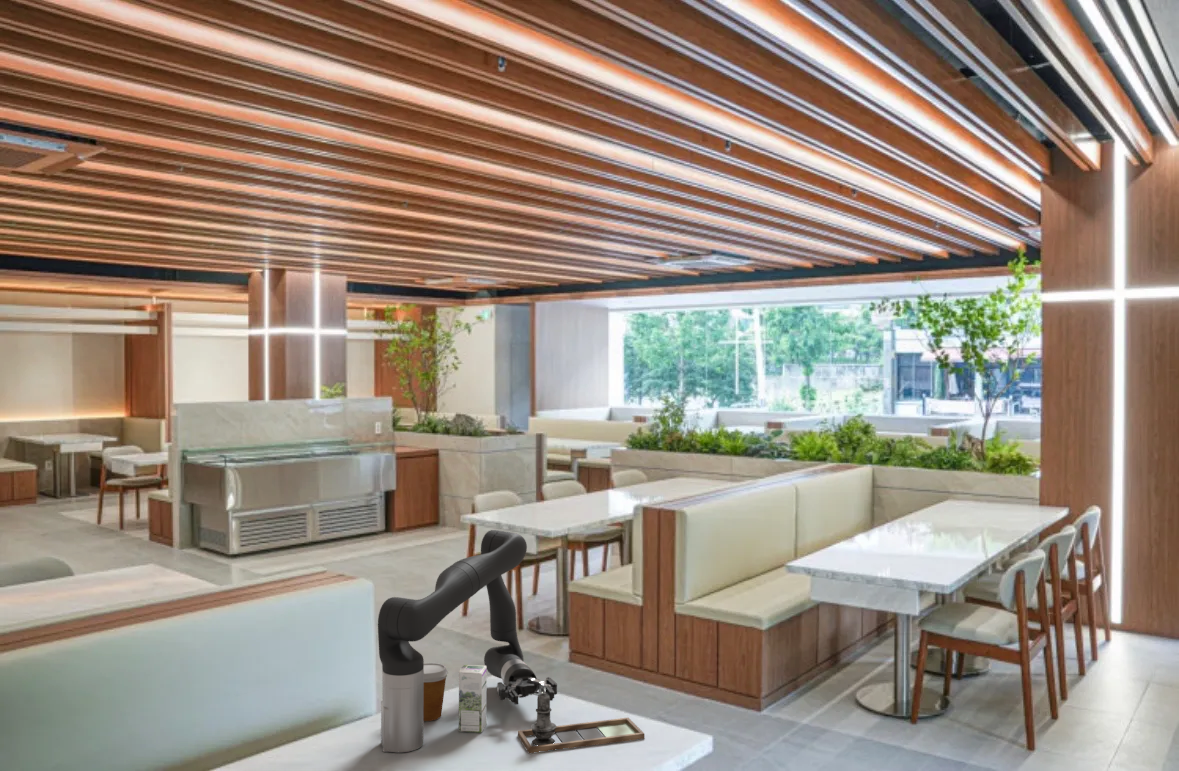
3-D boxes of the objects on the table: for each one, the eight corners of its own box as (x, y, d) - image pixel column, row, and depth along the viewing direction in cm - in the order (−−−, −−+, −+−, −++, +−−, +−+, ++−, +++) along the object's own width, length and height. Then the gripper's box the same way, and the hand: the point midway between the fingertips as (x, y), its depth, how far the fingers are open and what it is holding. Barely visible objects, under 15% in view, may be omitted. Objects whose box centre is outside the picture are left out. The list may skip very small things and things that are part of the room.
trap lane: (528, 753, 199) (529, 748, 199) (517, 735, 209) (517, 730, 209) (644, 738, 207) (644, 733, 207) (628, 722, 217) (628, 717, 217)
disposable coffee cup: (444, 724, 216) (444, 674, 216) (404, 723, 216) (405, 674, 216) (451, 709, 226) (451, 662, 226) (413, 709, 226) (413, 661, 226)
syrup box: (487, 724, 216) (487, 664, 216) (481, 733, 210) (481, 672, 210) (463, 723, 216) (464, 663, 217) (457, 732, 211) (458, 671, 211)
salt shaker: (552, 748, 202) (552, 695, 202) (527, 746, 203) (527, 693, 203) (559, 738, 208) (559, 686, 208) (534, 736, 209) (534, 684, 209)
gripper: (490, 665, 226) (505, 685, 211) (545, 660, 231) (562, 679, 216) (490, 695, 226) (505, 717, 211) (544, 689, 231) (562, 710, 215)
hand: (534, 698), depth 213 cm, fingers open, 8 cm apart
